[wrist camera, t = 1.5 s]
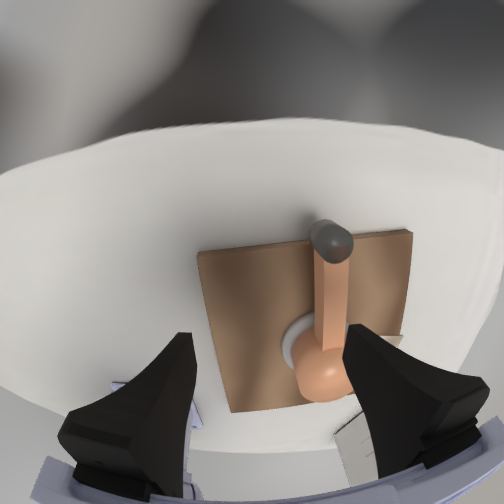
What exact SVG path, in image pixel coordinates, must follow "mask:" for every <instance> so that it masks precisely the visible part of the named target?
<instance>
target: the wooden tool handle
mask: <svg viewBox="0 0 504 504" xmlns="http://www.w3.org/2000/svg"><path fill="white" fill-rule="evenodd" d="M309 241H310V244H311V245H312V247H313V248H314V283H315V323H314V327H311V328H309V329H307V330H306V331H304V332H303V333H302V334H300V335H299V336H298V337H297V338H296V340H295V341H294V343H293V345H292V347H291V359H292V363H293V367H294V371H295V374H296V378H297V382H298V386H299V390H300V393H301V394H302V396H303V397H304V398H306V399H307V400H310V401H313V402H330V401H334V400H337V399H340V398H342V397H344V396H346V395H347V394H349V393H350V392H352V391H353V387H352V385H351V383H350V381H349V379H348V376H347V374H346V370H345V367H344V364H343V360H342V355H343V350H344V346H345V341H346V336H347V333H346V332H345V327H346V314H347V299H348V278H349V256H350V255H351V253H352V251H353V247H354V241H353V238H352V235H351V234H350V233H349V232H348V231H347V230H345V229H344V228H342V227H341V226H339V225H338V224H336V223H335V222H333V221H331V220H327V219H325V220H320V221H318V222H316V223H315V224H314V225H313V226H312V228H311V230H310V232H309Z"/></svg>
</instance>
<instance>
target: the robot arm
mask: <svg viewBox="0 0 504 504" xmlns="http://www.w3.org/2000/svg"><path fill="white" fill-rule="evenodd" d="M342 360H343V364H344V367H345V370H346V374H347V376H348V379H349V381H350V383H351V385H352V387H353V390H354V392H355V394H356V396H357V398H358V401H359V403H360V405H361V407H362V410H363V412H364V415H365V418H366V421H367V424H368V428H369V431H370V435H371V440H372V444H373V448H374V453H375V459H376V465H377V472H378V480H375V481H372V482H368V483H365V484H361V485H358V486H354V487H350V488H346V489H342V490H337V491H333V492H328V493H323V494H317V495H311V496H305V497H298V498H290V499H281V500H268V501H246V502H245V501H244V502H227V501H223V502H222V501H204V498H203V494H202V492H201V490H200V488H199V487H198V485H197V484H196V483H192V482H191V479H192V474H191V473H188V472H186V470H187V460H188V452H189V444H190V436H191V429H201V428H203V424H202V422H201V419H200V417H199V414H198V412H197V409H196V407H195V404H194V402H193V399H192V398H193V394H194V389H195V385H196V375H197V362H196V356H195V351H194V345H193V339H192V333H186V332H178V333H177V334H176V335H175V337H174V338H173V339H172V340H171V341H170V342H169V344H168V345H167V346H166V347H165V348H164V349H163V350H162V352H161V353H160V354H159V355H158V356H157V357H156V358H155V359H154V360H153V361H152V362H151V363H150V364H149V365H148V366H147V367H146V368H145V369H144V370H143V371H142V372H141V373H139V374H138V375H137V376H136V377H135V378H133V379H132V380H131V381H130V382H128V383H127V384H120V383H112V384H111V386H110V387H111V389H112V391H113V392H112V393H111V394H110V395H108V396H106V397H104V398H102V399H100V400H98V401H96V402H94V403H91V404H89V405H87V406H84V407H81V408H78V409H76V410H73V411H70V412H69V413H68V415H67V417H66V419H65V421H64V423H63V425H62V427H61V429H60V431H59V433H58V436H57V437H58V440H59V442H60V444H61V445H62V447H63V448H64V449H65V450H66V451H67V452H68V453H69V454H70V455H71V456H72V457H73V459H74V460H75V461H76V462H77V465H76V468H74V467H73V466H71V465H69V464H67V463H65V462H62V461H60V460H58V459H55V458H53V457H51V456H47V457H46V459H45V461H44V464H43V466H42V468H41V471H40V473H39V475H38V478H37V480H36V483H35V485H34V488H33V490H32V493H31V496H30V499H31V500H33V501H34V502H35V503H37V504H450V503H451V502H453V501H454V500H456V499H458V498H459V497H461V496H462V495H464V494H465V493H467V492H468V491H470V490H471V489H472V488H474V487H475V486H477V485H478V484H480V483H481V482H482V481H484V480H485V479H486V478H488V477H489V476H490V475H491V474H493V473H494V472H495V471H496V470H497V469H498V468H499V467H500V466H502V465H503V464H504V424H503V423H502V422H501V420H500V419H499V418H498V416H495V417H494V418H492V419H491V420H489V421H487V422H486V423H484V424H483V425H482V426H481V427H480V428H479V429H478V428H477V427H476V424H477V423H478V420H477V419H476V417H475V416H476V414H477V413H478V412H479V410H480V409H481V407H482V406H483V404H484V403H485V401H486V400H487V398H488V396H489V392H490V388H489V387H488V386H487V385H486V383H485V382H484V381H483V380H482V378H481V377H475V376H468V375H461V374H458V373H454V372H450V371H446V370H443V369H440V368H437V367H434V366H432V365H429V364H427V363H424V362H422V361H420V360H418V359H416V358H414V357H412V356H410V355H408V354H406V353H405V352H403V351H401V350H400V349H398V348H396V347H395V346H393V345H392V344H390V343H389V342H387V341H386V340H384V339H383V338H381V337H380V336H379V335H377V334H376V333H374V332H373V331H371V330H370V329H368V328H367V327H365V326H364V325H362V324H361V323H359V324H351V325H349V326H348V331H347V336H346V341H345V346H344V350H343V355H342Z"/></svg>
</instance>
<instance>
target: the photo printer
mask: <svg viewBox="0 0 504 504" xmlns="http://www.w3.org/2000/svg"><path fill="white" fill-rule="evenodd" d="M335 441H336V444H337V448H338V451H339V454H340V457H341V460H342V462H343V466H344V469H345V472H346V475H347V478H348V481H349V484H350V487H354V486H358V485H361V484H365V483H368V482H372V481H375V480H378V472H377V465H376V459H375V453H374V448H373V444H372V440H371V435H370V431H369V428H368V424H367V421H366V418H365V415H364V412H362V413H361V414H360V415H359V416H358V417H356V418H355V419H354V420H353V421H351V422H350V423H349V424H348V425H346V426H345V427H344V428H343V429H341V430H340V431H339V432H338V433H337V434H336V435H335Z"/></svg>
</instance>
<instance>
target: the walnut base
mask: <svg viewBox="0 0 504 504" xmlns="http://www.w3.org/2000/svg"><path fill="white" fill-rule="evenodd" d="M352 238H353V241H354V247H353V251H352V253H351V255H350V256H349V278H348V299H347V314H346V327H345V332H346V333H347V331H348V326H349V325H351V324H359V323H361V324H362V325H364V326H365V327H367V328H368V329H370V330H371V331H373V332H374V333H376V334H377V335H379V336H380V337H381V338H383V339H384V340H386V341H387V342H389V343H390V344H392V345H393V346H395V347H396V348H398V346H399V344H400V341H401V339H402V337H403V335H399V334H400V330H401V325H402V319H403V314H404V308H405V302H406V296H407V289H408V282H409V274H410V265H411V255H412V243H413V232H411V231H408V230H406V229H405V230H395V231H385V232H376V233H366V234H357V235H352ZM197 263H198V269H199V274H200V280H201V285H202V290H203V295H204V300H205V305H206V310H207V315H208V320H209V324H210V329H211V333H212V338H213V342H214V347H215V351H216V356H217V360H218V364H219V368H220V372H221V376H222V380H223V384H224V388H225V392H226V396H227V400H228V404H229V407H230V411H231V413H237V412H250V411H260V410H269V409H277V408H284V407H291V406H297V405H303V404H309V403H314V402H313V401H310V400H307V399H306V398H304V397H303V396H302V394H301V393H300V390H299V386H298V382H297V378H296V374H295V371H294V367H293V363H292V359H291V347H292V345H293V343H294V341H295V340H296V338H297V337H298V336H299V335H300V334H302V333H303V332H304V331H306V330H307V329H309V328H311V327H314V323H315V283H314V248H313V247H312V245H311V244H310V241H309V240H302V241H293V242H284V243H275V244H266V245H257V246H248V247H239V248H231V249H222V250H213V251H205V252H198V255H197ZM354 393H355V392H354V390H353V391H352V392H350V393H349V394H347V395H350V394H354Z"/></svg>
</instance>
